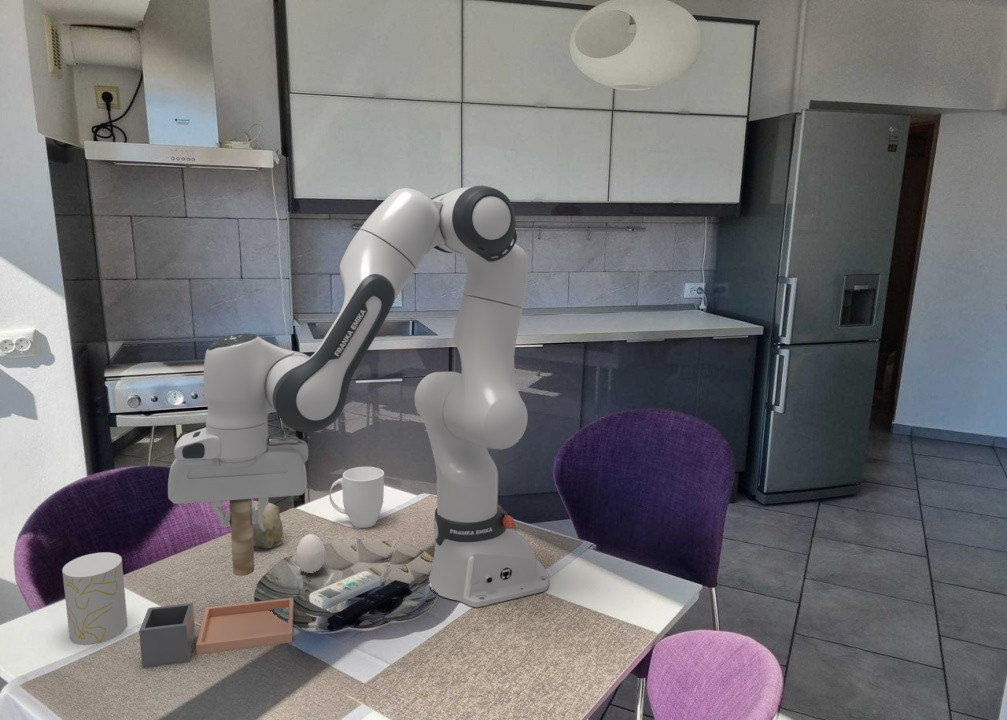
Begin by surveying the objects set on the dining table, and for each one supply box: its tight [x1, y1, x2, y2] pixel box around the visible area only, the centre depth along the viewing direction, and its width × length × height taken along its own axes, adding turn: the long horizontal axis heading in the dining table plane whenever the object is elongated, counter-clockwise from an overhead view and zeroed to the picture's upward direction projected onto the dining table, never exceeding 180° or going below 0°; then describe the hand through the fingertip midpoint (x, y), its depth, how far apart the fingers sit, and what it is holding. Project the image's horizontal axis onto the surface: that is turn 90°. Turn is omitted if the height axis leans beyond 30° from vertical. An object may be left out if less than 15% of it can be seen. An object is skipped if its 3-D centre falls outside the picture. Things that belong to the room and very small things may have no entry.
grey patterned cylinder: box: [61, 551, 129, 646], centre depth 113 cm, size 8×8×12 cm
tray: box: [195, 597, 294, 655], centre depth 116 cm, size 14×11×2 cm
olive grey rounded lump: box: [252, 500, 284, 549], centre depth 146 cm, size 9×8×10 cm
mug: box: [329, 466, 385, 529], centre depth 156 cm, size 12×9×12 cm
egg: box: [295, 533, 326, 573], centre depth 135 cm, size 5×5×8 cm
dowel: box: [229, 499, 255, 577], centre depth 112 cm, size 3×3×12 cm
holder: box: [138, 602, 197, 669], centre depth 109 cm, size 6×6×7 cm
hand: (241, 524), depth 112 cm, fingers closed on dowel, 3 cm apart
